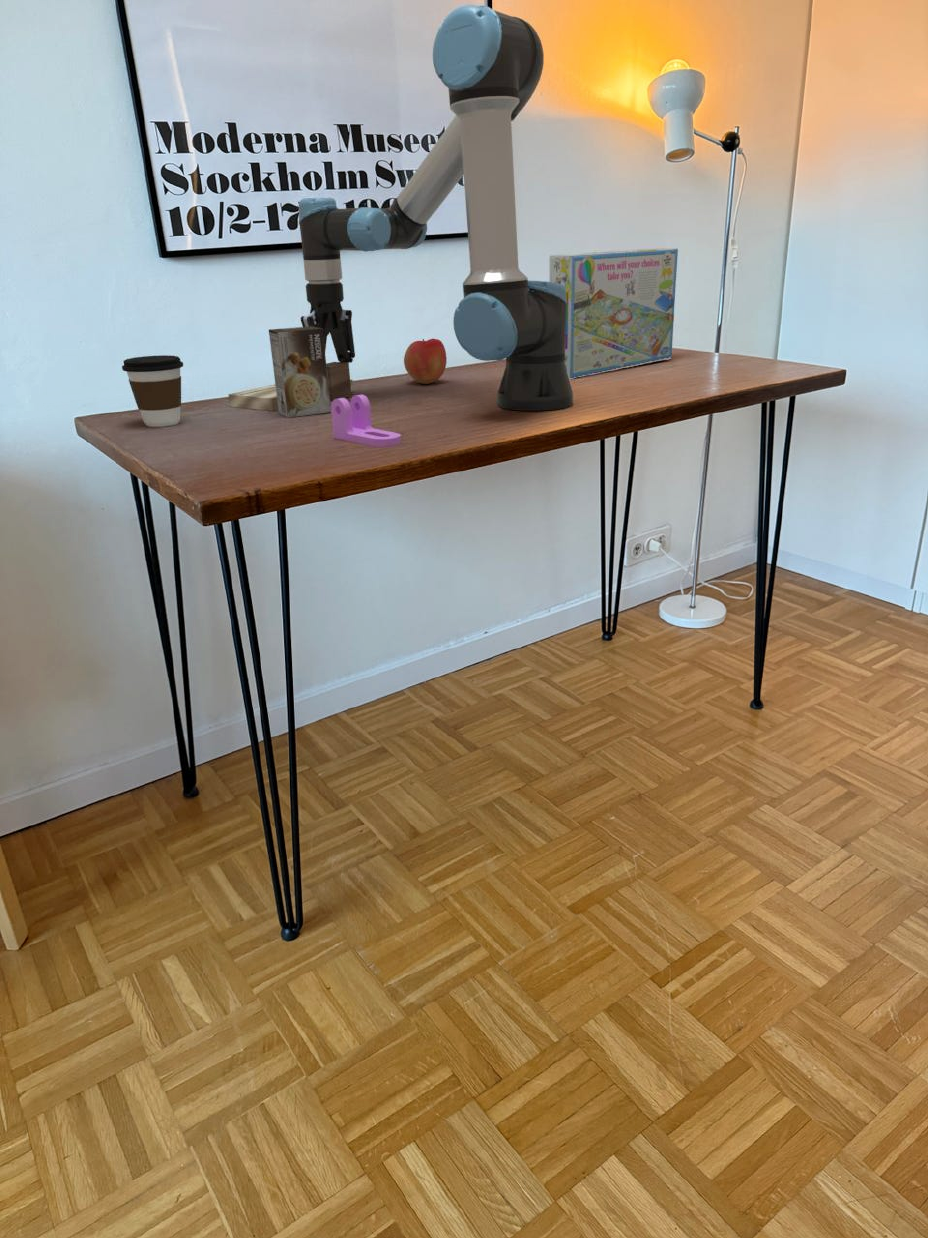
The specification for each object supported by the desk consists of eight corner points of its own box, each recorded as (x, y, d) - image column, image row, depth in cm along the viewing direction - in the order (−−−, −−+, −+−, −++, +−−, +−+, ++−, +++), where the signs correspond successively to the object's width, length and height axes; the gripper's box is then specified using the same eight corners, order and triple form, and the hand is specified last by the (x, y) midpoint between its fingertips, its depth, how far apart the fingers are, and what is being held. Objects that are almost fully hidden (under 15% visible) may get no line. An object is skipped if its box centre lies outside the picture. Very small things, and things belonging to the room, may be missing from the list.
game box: (650, 358, 230) (657, 247, 219) (672, 361, 226) (680, 247, 215) (547, 377, 206) (548, 253, 195) (569, 380, 201) (572, 253, 190)
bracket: (333, 438, 150) (330, 397, 147) (358, 433, 154) (355, 393, 151) (383, 449, 142) (380, 406, 139) (408, 443, 145) (405, 401, 142)
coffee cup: (158, 431, 158) (147, 364, 153) (120, 426, 164) (107, 361, 159) (204, 420, 167) (194, 356, 162) (165, 416, 172) (155, 353, 167)
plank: (353, 390, 194) (352, 379, 193) (272, 411, 174) (270, 397, 173) (312, 387, 200) (311, 376, 199) (230, 406, 180) (228, 393, 179)
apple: (440, 379, 207) (438, 335, 203) (452, 384, 199) (450, 339, 195) (401, 381, 204) (398, 337, 200) (411, 387, 196) (409, 342, 192)
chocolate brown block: (351, 395, 188) (348, 362, 185) (333, 400, 183) (330, 367, 180) (303, 391, 195) (299, 359, 192) (284, 395, 190) (280, 363, 187)
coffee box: (321, 408, 176) (313, 325, 170) (331, 413, 171) (324, 327, 164) (277, 413, 172) (267, 328, 166) (286, 418, 167) (277, 331, 161)
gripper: (340, 277, 185) (348, 387, 195) (277, 285, 171) (290, 402, 181) (367, 278, 182) (374, 390, 192) (306, 286, 167) (317, 406, 177)
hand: (333, 396), depth 186 cm, fingers closed on chocolate brown block, 6 cm apart
